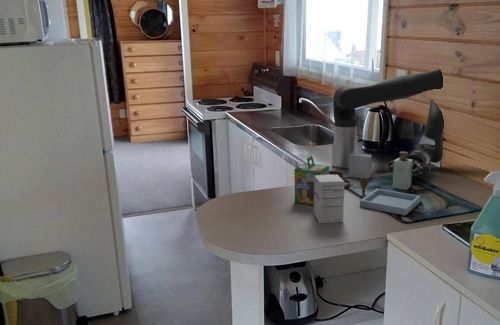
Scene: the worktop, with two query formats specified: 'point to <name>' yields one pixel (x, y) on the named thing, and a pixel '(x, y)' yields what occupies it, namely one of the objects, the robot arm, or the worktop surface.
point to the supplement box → (328, 198)
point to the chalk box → (307, 180)
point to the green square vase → (402, 174)
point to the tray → (390, 201)
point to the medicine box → (360, 165)
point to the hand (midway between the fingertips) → (403, 170)
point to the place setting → (362, 181)
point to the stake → (403, 156)
